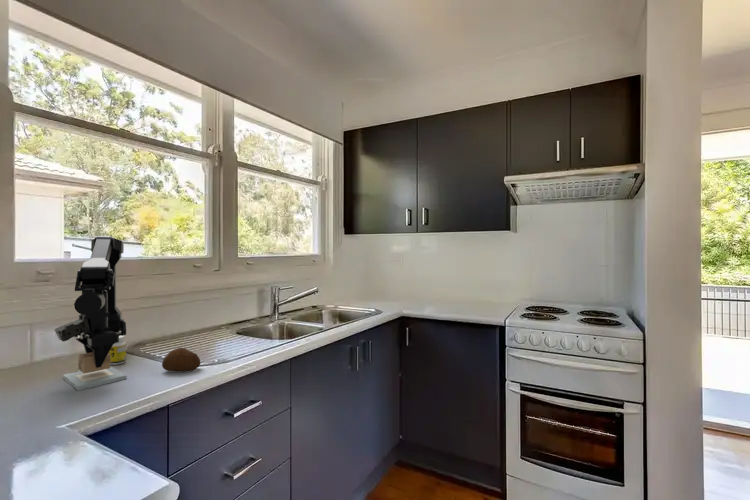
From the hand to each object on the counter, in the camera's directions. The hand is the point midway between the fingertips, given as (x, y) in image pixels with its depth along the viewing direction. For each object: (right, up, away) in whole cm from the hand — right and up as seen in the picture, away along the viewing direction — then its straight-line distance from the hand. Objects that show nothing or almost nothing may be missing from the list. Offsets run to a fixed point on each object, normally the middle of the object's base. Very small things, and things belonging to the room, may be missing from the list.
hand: (94, 364), depth 104 cm
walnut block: (0, -1, 0) cm, 1 cm away
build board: (0, -4, 0) cm, 4 cm away
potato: (+21, -4, +7) cm, 22 cm away
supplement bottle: (-4, -4, +14) cm, 15 cm away
